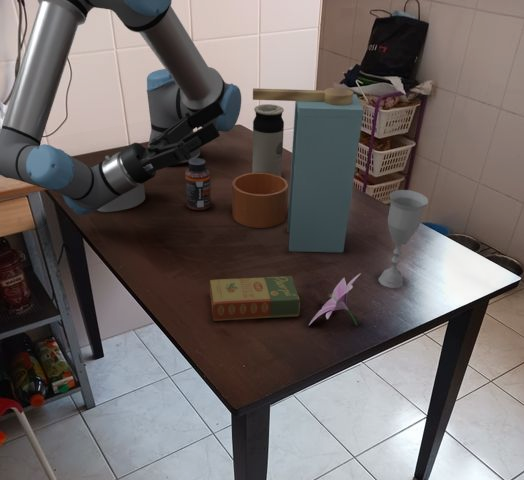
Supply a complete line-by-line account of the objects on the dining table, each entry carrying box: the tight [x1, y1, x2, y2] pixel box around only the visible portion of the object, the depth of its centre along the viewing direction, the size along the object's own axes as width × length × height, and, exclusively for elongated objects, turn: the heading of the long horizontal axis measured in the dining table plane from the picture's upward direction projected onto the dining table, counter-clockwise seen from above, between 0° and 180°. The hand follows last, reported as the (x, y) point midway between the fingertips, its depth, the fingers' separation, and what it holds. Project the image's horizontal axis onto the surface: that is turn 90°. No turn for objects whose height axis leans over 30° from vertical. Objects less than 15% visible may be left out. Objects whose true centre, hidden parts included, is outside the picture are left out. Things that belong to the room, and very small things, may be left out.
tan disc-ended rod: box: [252, 87, 354, 105], centre depth 103 cm, size 19×6×2 cm, turn 90°
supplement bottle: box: [184, 158, 212, 211], centre depth 131 cm, size 6×6×11 cm
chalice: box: [378, 189, 429, 289], centre depth 105 cm, size 7×7×18 cm
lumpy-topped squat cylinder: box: [97, 182, 146, 213], centre depth 133 cm, size 10×13×9 cm
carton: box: [209, 275, 301, 322], centre depth 101 cm, size 8×16×4 cm, turn 98°
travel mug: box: [251, 103, 285, 177], centre depth 143 cm, size 8×8×18 cm
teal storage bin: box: [286, 93, 365, 253], centre depth 113 cm, size 10×12×30 cm
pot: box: [231, 172, 289, 229], centre depth 129 cm, size 13×13×8 cm
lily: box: [308, 272, 362, 326], centre depth 98 cm, size 12×12×10 cm
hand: (218, 117), depth 105 cm, fingers open, 13 cm apart
